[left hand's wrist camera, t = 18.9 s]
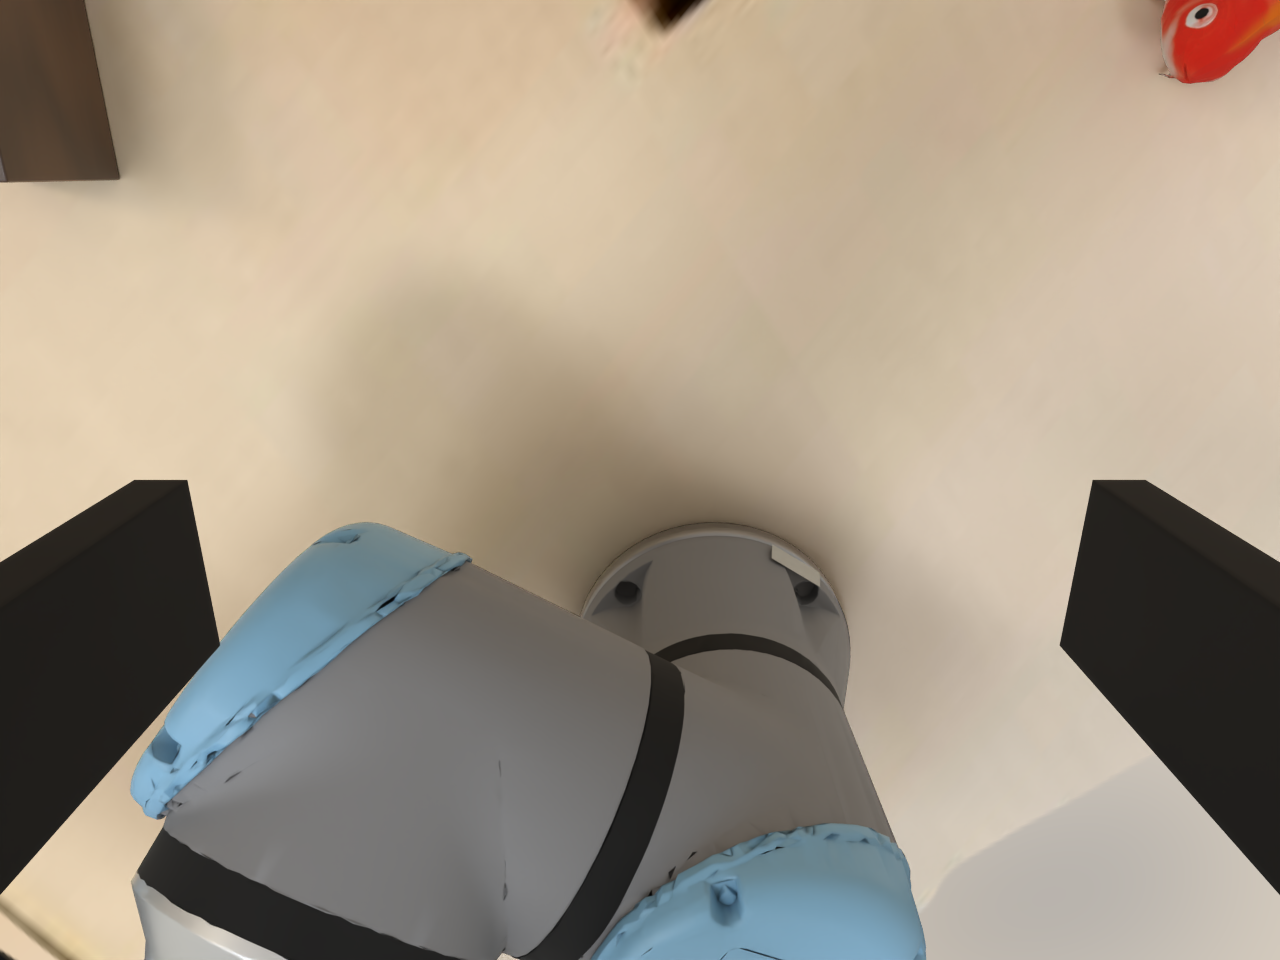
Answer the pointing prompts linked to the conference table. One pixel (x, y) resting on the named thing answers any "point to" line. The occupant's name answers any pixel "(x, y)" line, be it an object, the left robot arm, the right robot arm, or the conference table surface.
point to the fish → (1213, 35)
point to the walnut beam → (51, 96)
